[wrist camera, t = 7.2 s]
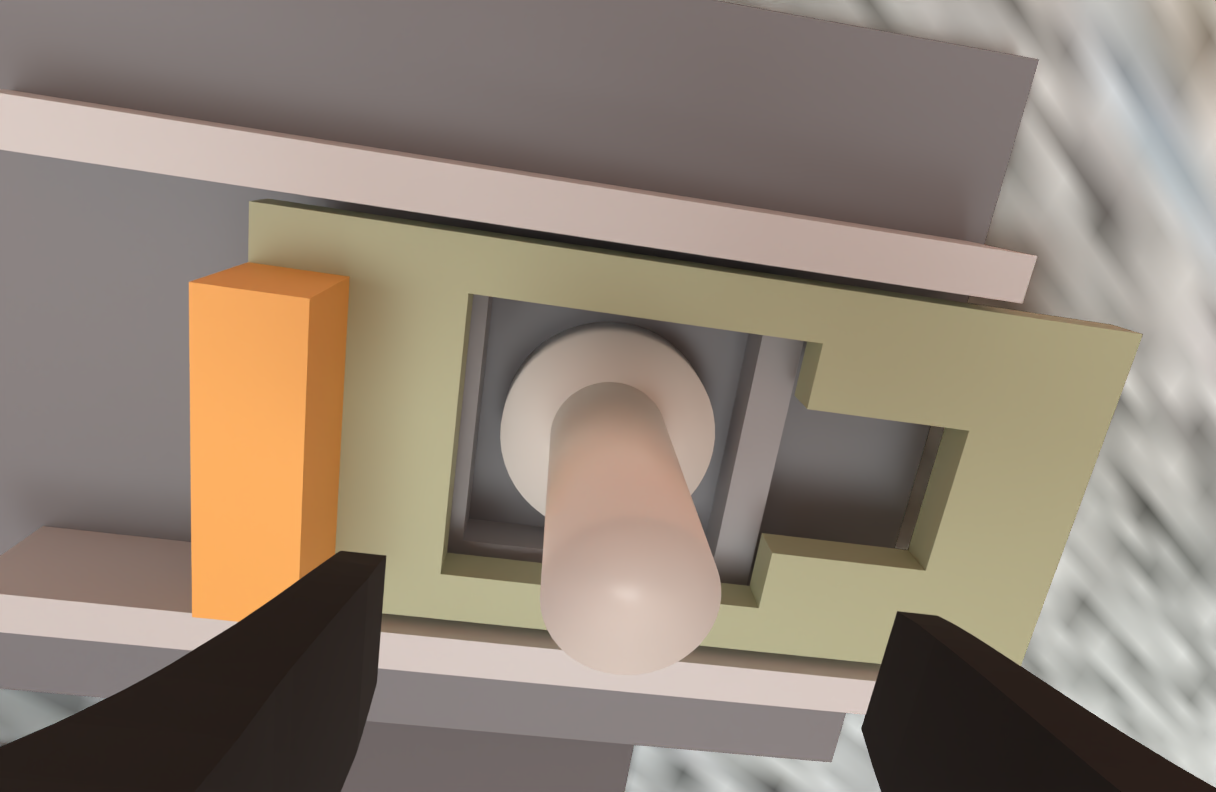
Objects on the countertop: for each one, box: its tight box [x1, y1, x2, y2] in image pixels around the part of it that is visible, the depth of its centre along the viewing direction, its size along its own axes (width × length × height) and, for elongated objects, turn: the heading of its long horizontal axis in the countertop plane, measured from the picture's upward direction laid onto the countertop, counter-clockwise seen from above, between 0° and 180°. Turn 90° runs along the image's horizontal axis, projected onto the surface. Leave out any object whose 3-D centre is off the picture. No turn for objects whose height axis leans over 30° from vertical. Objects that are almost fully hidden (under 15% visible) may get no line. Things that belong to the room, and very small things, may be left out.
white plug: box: [500, 322, 721, 675], centre depth 16 cm, size 5×5×8 cm
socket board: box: [0, 0, 1039, 762], centre depth 18 cm, size 20×25×4 cm
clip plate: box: [189, 199, 1143, 666], centre depth 16 cm, size 9×19×4 cm, turn 81°
